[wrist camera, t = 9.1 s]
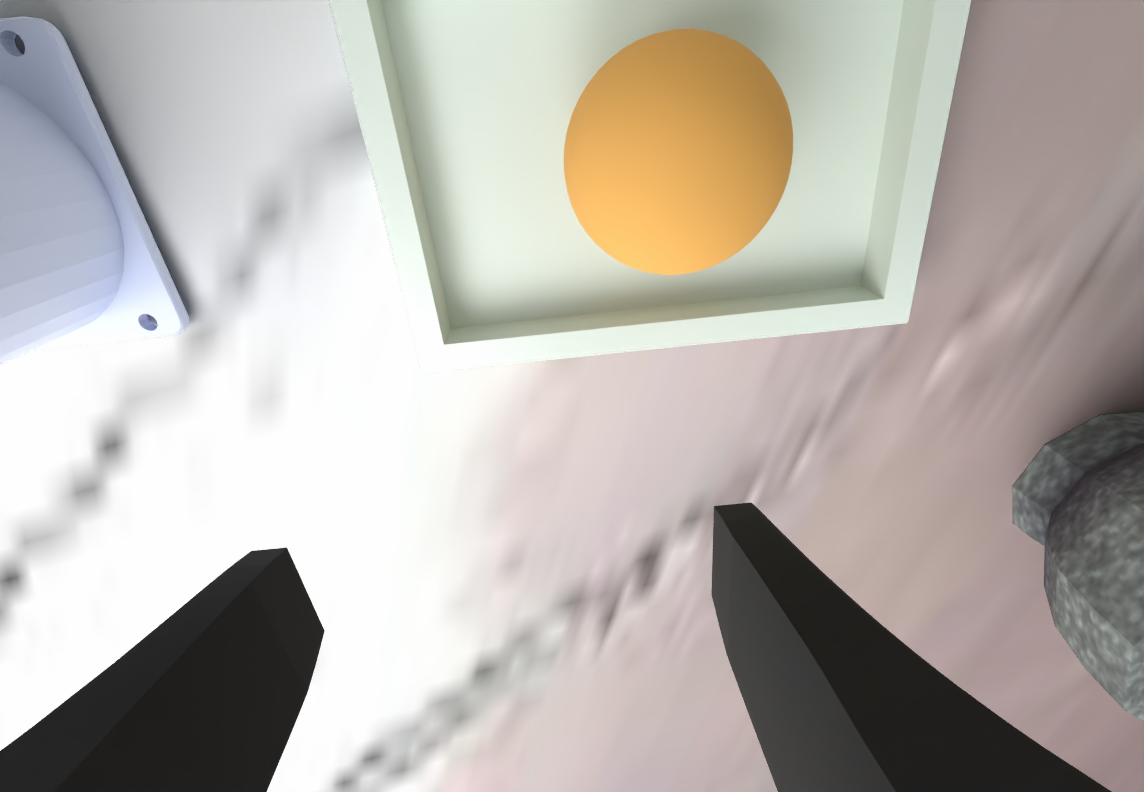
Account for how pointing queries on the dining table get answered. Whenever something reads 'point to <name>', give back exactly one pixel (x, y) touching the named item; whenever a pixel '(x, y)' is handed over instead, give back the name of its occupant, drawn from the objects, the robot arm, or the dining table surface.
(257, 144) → the dining table surface
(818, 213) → the tray
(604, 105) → the ball
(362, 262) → the dining table surface
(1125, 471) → the mortar and pestle
